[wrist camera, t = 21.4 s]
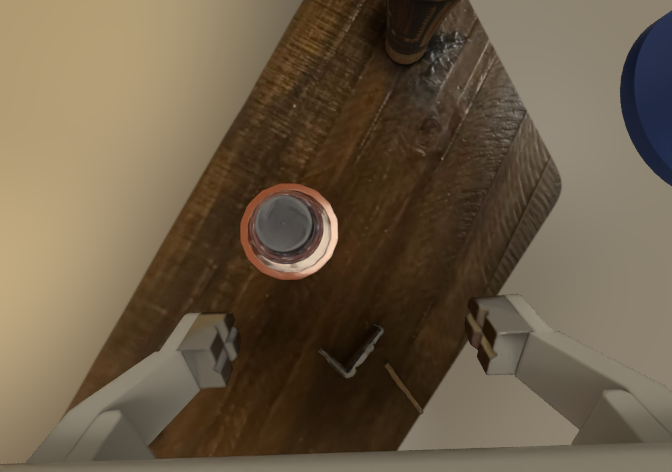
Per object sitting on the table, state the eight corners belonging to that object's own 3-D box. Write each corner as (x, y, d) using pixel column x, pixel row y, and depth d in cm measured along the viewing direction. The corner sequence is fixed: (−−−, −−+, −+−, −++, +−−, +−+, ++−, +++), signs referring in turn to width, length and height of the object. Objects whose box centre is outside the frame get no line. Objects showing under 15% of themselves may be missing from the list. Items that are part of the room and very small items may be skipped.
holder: (333, 193, 31) (336, 182, 27) (335, 274, 31) (339, 277, 26) (250, 194, 31) (239, 183, 26) (251, 277, 30) (240, 281, 26)
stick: (426, 414, 30) (421, 417, 30) (424, 410, 31) (419, 413, 31) (388, 363, 30) (383, 366, 30) (387, 360, 31) (382, 364, 31)
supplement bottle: (261, 256, 30) (230, 258, 18) (271, 202, 30) (246, 172, 19) (315, 265, 30) (317, 272, 19) (324, 212, 31) (331, 188, 19)
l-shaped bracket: (316, 330, 30) (321, 377, 30) (315, 332, 29) (321, 382, 28) (380, 320, 31) (387, 367, 30) (383, 322, 30) (390, 371, 29)
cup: (383, -9, 33) (413, -120, 24) (446, 31, 34) (501, -62, 24) (347, 49, 33) (362, -41, 23) (411, 89, 33) (454, 18, 23)
